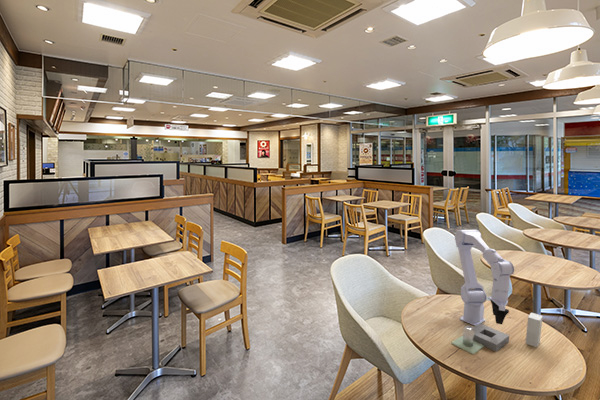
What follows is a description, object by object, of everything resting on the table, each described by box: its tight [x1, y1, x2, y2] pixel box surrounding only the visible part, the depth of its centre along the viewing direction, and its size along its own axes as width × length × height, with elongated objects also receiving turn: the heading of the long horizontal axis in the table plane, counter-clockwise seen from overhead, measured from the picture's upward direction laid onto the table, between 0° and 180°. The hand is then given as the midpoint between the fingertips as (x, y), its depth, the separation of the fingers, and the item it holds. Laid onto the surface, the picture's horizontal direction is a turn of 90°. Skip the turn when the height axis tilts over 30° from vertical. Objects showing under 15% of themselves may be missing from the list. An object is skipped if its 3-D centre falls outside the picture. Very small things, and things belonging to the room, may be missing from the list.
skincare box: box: [525, 312, 543, 348], centre depth 132 cm, size 6×4×12 cm
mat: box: [451, 334, 485, 355], centre depth 131 cm, size 9×9×1 cm
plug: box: [462, 325, 475, 347], centre depth 131 cm, size 4×4×7 cm
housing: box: [472, 323, 510, 352], centre depth 135 cm, size 12×12×3 cm
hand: (497, 319), depth 134 cm, fingers open, 7 cm apart
